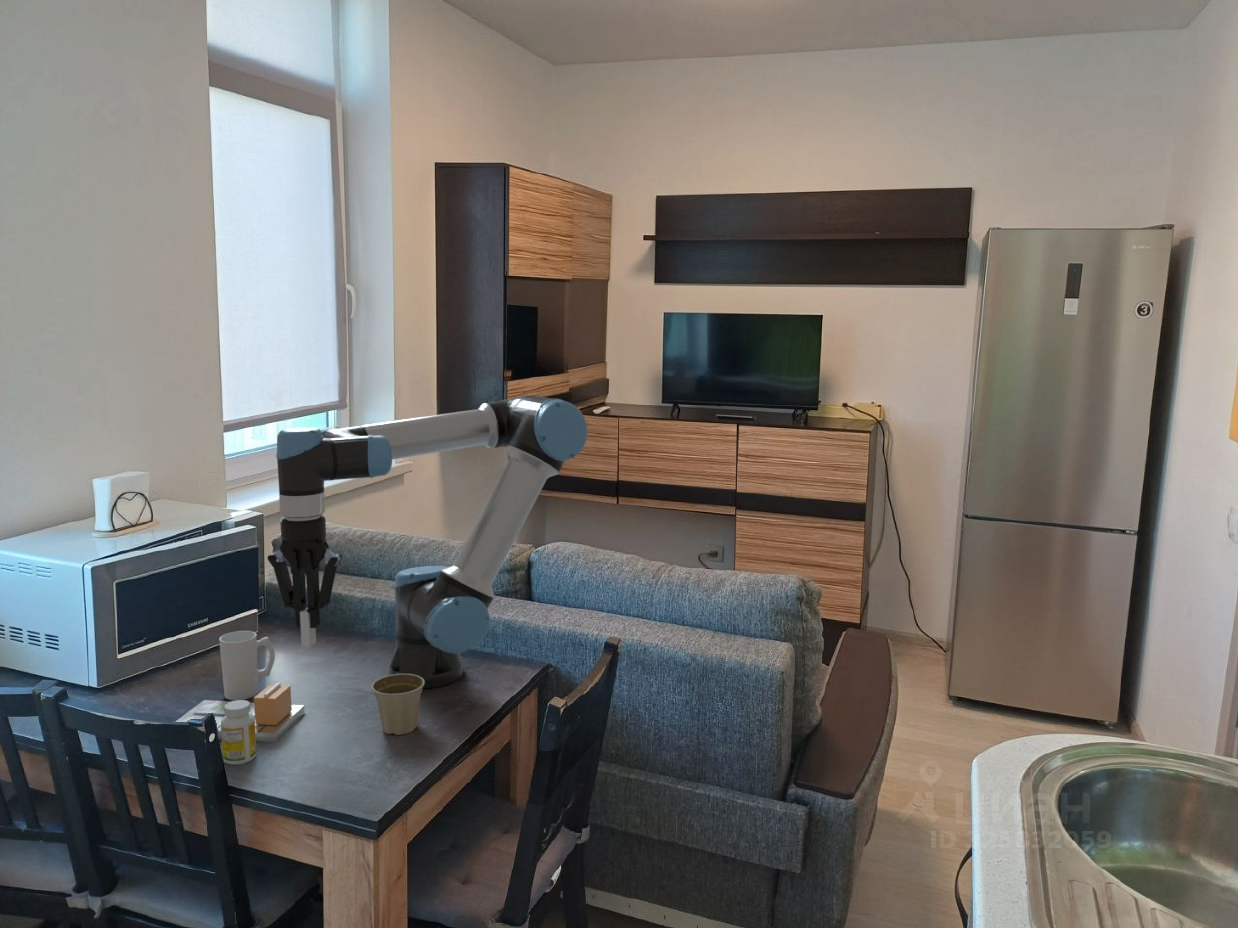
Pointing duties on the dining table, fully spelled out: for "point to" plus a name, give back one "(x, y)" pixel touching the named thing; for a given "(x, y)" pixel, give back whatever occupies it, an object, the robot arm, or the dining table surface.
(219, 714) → the console
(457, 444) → the robot arm
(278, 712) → the cardboard box
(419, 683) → the flower pot
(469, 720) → the dining table surface
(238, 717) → the supplement bottle
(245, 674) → the mug
